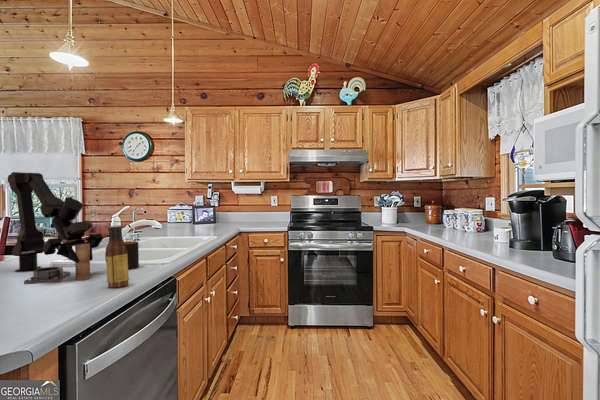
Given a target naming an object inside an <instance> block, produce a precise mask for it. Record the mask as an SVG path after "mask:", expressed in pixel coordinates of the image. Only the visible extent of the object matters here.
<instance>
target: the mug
mask: <svg viewBox="0 0 600 400" xmlns="http://www.w3.org/2000/svg"><path fill="white" fill-rule="evenodd" d="M123 242H124V245H125V246H126V249H127V258H128V271H129V270H136V269H138V268H139V267H140V266H139V265H140V264H139V263H140V262H139V255H140V254H139V241H134V240H133V241H123ZM104 255H105V256H104V257H105V260H106V252H105V254H104Z"/></svg>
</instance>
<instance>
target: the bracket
mask: <svg viewBox="0 0 600 400" xmlns="http://www.w3.org/2000/svg"><path fill="white" fill-rule="evenodd" d="M63 270H64V268H63V267H61V266H47V267H40V268H38V269H36V270H32V274H33V275H32V276H31V277H30V278H28V279H25V280H24V281H23V284H24V285H33V284H47V283H59V282H60V281H63V278H64V279H65V278H67V277H68V276H70V275H71V271H66V270H65V271H63ZM66 276H67V277H66Z"/></svg>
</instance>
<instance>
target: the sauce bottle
mask: <svg viewBox="0 0 600 400" xmlns="http://www.w3.org/2000/svg"><path fill="white" fill-rule="evenodd" d="M107 231H108V235H109V238H108V243H107V245H106V247H105V253H106V259H105V263H106V277H107V279H106V280H107V285H108V286H107V287H109V288H115V289H116V288H123V287H126V286H128V285H129V280H130V277H129V276H130V275H129V270H128V258H127V249H126V246H125V245H124V242H125V241H124V239H123V226H122V225H110V226H108V227H107Z"/></svg>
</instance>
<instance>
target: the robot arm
mask: <svg viewBox="0 0 600 400" xmlns="http://www.w3.org/2000/svg"><path fill="white" fill-rule="evenodd" d="M7 183H8V184H9V188H10V190H11V191H12V192H13V193H14V194H15V195H16V200H17V202H16V203H17V210H18V217H19V224H20V231H19V232H18V235H17V237H16V243H15V245H14V246H13V248H12V251H11V253H12V256H13V257H18V263H19V264H18V265H19V267H18V268H17V269H15V270H14V271H15V272H28V271H29V272H30V271H31V272H33V271H34V270H36V269H40V268H42V266H41V265H38V254H44V255H45V256H48V255H54V254H55V253H56V255H57V256H59V255H60V256H61V257H64V258H66V259H68V260H70V261H72V262H74V263H75V262H76V263H79V259H78V257H77V255H76V253H75V249H73V247H75V244H82V243H89V244H90V262H91V261H92V260H94V258H93V249H95V248H98V247H99V245H100V244H101V243H102V241H103V239H104V236H103V234H102V233H90V234H89V235H88V237H87V238H85V233H86V232H87V231H89V230H91V229H93V223H92V222H91V221H90V220H88V219H87V220H84V221H75V222H73V220H75V219H77V218H78V216H79V213H80V212H81V211H82V209H83V206H84V205H83V203H82V202H80V201H79V200H77V199H75V198H73V197H72V196H66V197H65V199H64V201H63V200H62V199H61V198H59V197H57V196H55V195H54V193H53V191H52V190H51V189H50V187H49V185H48V183H46V181H45V179H44V176H43V174H42V173H40V172H24V171H23V172H19V171H12V172H11V173H10V174H8V176H7ZM33 193H34V194H35V196H36V197H37V199H38V200H39V202H40V207H39V210H40V212H41V214H42V216H43V218H45V219H50V218H51V219H52V218H53V219H52V220H51V224H50V225H49V227H50V228H51V229H55V230H56V232H57V234H58V235H57V236H56V237H54V238H48V239H47V240H46V242H45V238H44V233H43V231H42V230H39V229H38V228H37V223H36V217H35V215H36V214H35V208H34V201H33ZM83 237H84V238H83ZM56 251H57V252H56Z"/></svg>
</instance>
